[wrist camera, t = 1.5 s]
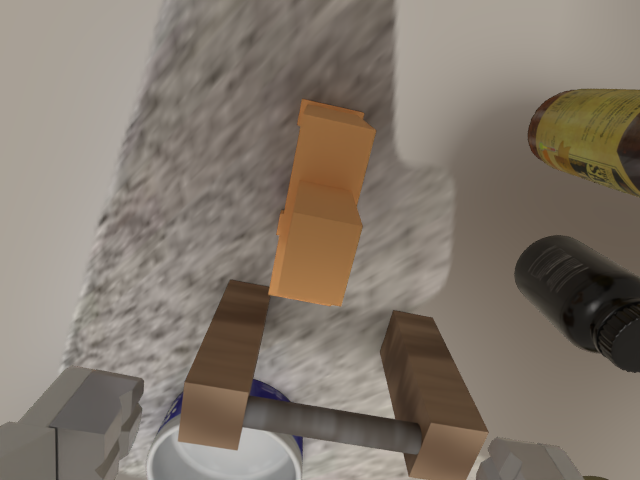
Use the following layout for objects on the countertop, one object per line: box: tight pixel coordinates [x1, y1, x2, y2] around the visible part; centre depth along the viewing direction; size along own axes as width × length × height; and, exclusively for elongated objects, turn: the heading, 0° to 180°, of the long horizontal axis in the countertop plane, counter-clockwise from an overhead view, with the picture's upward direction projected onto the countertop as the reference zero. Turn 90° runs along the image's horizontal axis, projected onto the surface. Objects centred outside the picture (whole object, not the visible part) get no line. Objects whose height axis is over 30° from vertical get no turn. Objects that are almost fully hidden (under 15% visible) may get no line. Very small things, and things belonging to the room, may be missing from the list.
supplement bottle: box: [515, 235, 640, 373], centre depth 32 cm, size 7×7×12 cm
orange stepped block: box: [268, 99, 376, 306], centre depth 26 cm, size 12×5×18 cm, turn 168°
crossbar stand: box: [178, 280, 489, 480], centre depth 33 cm, size 5×20×14 cm, turn 78°
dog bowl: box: [146, 379, 303, 480], centre depth 42 cm, size 15×15×6 cm
